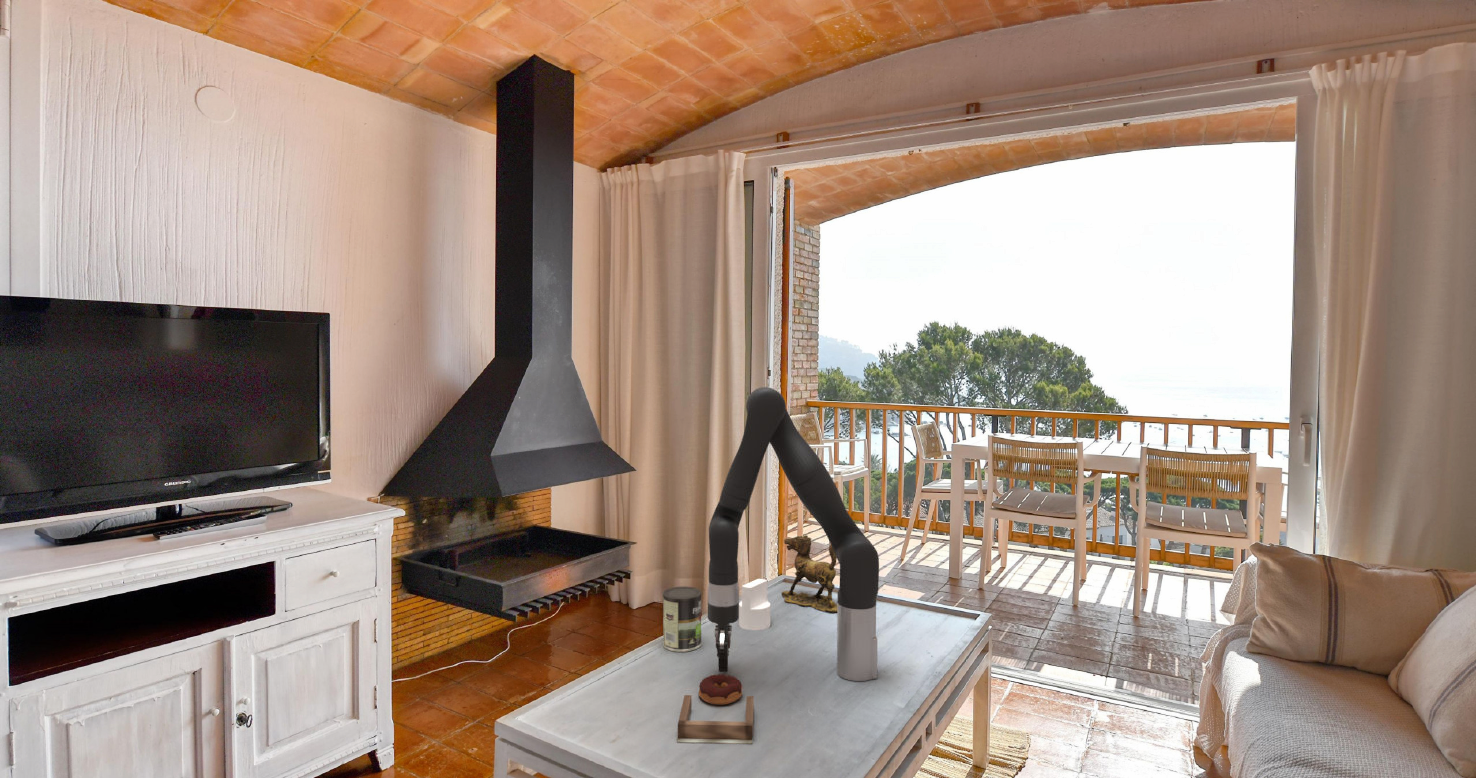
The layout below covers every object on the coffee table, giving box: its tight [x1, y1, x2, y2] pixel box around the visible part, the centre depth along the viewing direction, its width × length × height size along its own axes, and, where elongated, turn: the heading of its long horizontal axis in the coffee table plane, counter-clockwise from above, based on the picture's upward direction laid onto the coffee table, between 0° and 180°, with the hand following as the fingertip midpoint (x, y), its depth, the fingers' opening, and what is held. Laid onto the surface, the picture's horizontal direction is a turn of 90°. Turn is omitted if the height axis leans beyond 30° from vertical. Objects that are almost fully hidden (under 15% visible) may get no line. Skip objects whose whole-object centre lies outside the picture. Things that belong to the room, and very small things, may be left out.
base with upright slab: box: [738, 578, 771, 632], centre depth 208 cm, size 9×9×12 cm
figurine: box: [781, 534, 837, 615], centre depth 225 cm, size 13×25×20 cm, turn 42°
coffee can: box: [662, 586, 703, 653], centre depth 193 cm, size 10×10×14 cm
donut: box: [698, 673, 743, 706], centre depth 164 cm, size 10×10×4 cm
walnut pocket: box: [676, 694, 755, 745], centre depth 151 cm, size 15×14×3 cm
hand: (723, 670), depth 175 cm, fingers closed
